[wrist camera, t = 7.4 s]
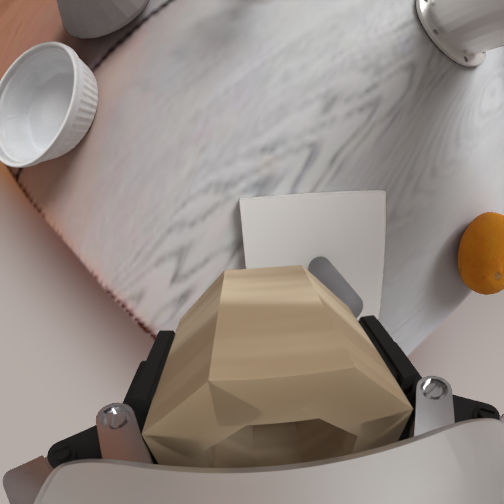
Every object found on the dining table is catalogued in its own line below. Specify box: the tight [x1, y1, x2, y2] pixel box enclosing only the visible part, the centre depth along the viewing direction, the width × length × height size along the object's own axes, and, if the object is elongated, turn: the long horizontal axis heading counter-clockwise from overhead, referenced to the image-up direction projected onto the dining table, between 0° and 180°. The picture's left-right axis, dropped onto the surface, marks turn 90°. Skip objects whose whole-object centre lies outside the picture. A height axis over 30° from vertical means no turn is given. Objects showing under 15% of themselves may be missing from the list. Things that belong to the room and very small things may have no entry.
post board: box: [239, 190, 386, 321], centre depth 26 cm, size 15×15×10 cm
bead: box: [142, 265, 413, 468], centre depth 9 cm, size 7×7×6 cm
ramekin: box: [0, 41, 98, 168], centre depth 21 cm, size 13×13×7 cm
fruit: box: [458, 212, 504, 295], centre depth 27 cm, size 10×10×8 cm
